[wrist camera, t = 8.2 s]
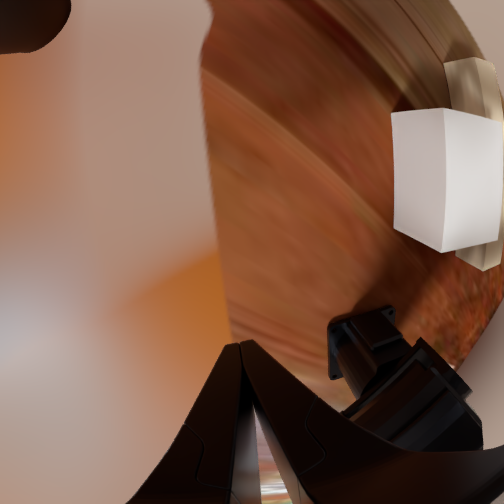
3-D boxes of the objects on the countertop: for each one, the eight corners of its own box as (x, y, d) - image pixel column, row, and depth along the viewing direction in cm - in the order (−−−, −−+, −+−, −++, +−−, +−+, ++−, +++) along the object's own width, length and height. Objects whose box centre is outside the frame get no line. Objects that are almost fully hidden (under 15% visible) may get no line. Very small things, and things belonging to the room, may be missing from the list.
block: (450, 220, 22) (497, 240, 16) (392, 227, 21) (441, 252, 16) (450, 121, 19) (501, 122, 13) (389, 113, 18) (443, 107, 13)
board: (473, 249, 23) (500, 263, 20) (455, 255, 23) (482, 271, 20) (463, 68, 17) (493, 63, 13) (443, 63, 17) (474, 56, 13)
